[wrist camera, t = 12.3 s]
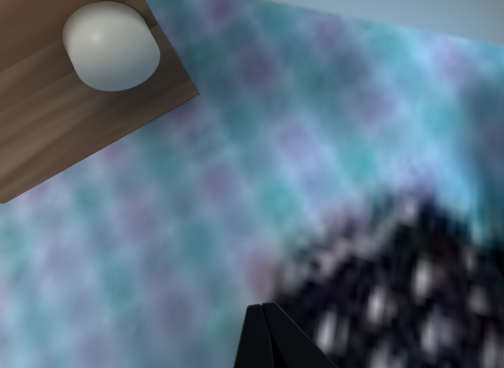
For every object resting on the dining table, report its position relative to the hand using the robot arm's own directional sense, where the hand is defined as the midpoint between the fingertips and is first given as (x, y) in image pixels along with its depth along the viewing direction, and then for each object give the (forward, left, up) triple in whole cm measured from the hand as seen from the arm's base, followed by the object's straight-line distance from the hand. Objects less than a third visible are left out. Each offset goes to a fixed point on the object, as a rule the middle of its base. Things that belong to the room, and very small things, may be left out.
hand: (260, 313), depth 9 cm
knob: (+14, +9, -5) cm, 18 cm away
